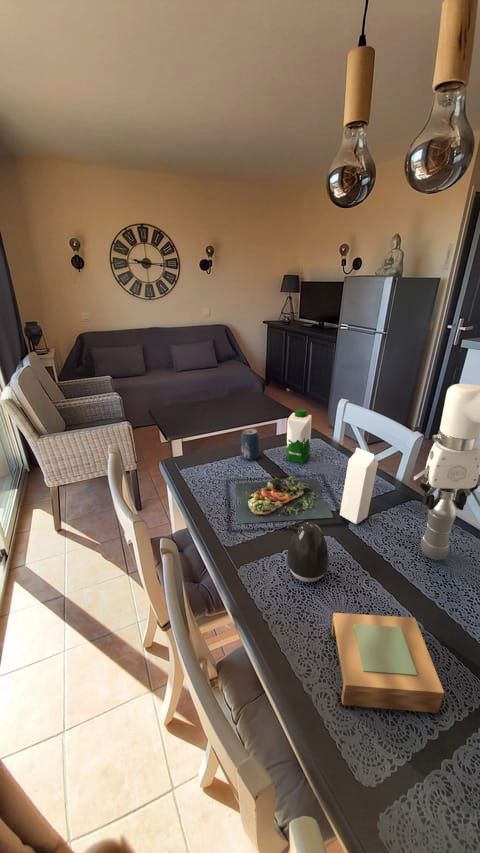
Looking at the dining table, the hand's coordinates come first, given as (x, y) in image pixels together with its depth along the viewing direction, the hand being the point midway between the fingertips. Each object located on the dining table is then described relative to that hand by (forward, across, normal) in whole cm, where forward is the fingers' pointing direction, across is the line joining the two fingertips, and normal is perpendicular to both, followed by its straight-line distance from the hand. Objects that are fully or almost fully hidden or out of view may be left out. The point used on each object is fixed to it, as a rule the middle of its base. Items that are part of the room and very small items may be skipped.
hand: (443, 506), depth 87 cm
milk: (+16, -17, +16) cm, 29 cm away
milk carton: (+16, -32, +52) cm, 63 cm away
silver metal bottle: (+15, 0, 0) cm, 15 cm away
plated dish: (+16, -39, +23) cm, 48 cm away
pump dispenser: (+16, -33, -7) cm, 37 cm away
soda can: (+15, -51, +52) cm, 75 cm away
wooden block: (+17, -21, -30) cm, 40 cm away
